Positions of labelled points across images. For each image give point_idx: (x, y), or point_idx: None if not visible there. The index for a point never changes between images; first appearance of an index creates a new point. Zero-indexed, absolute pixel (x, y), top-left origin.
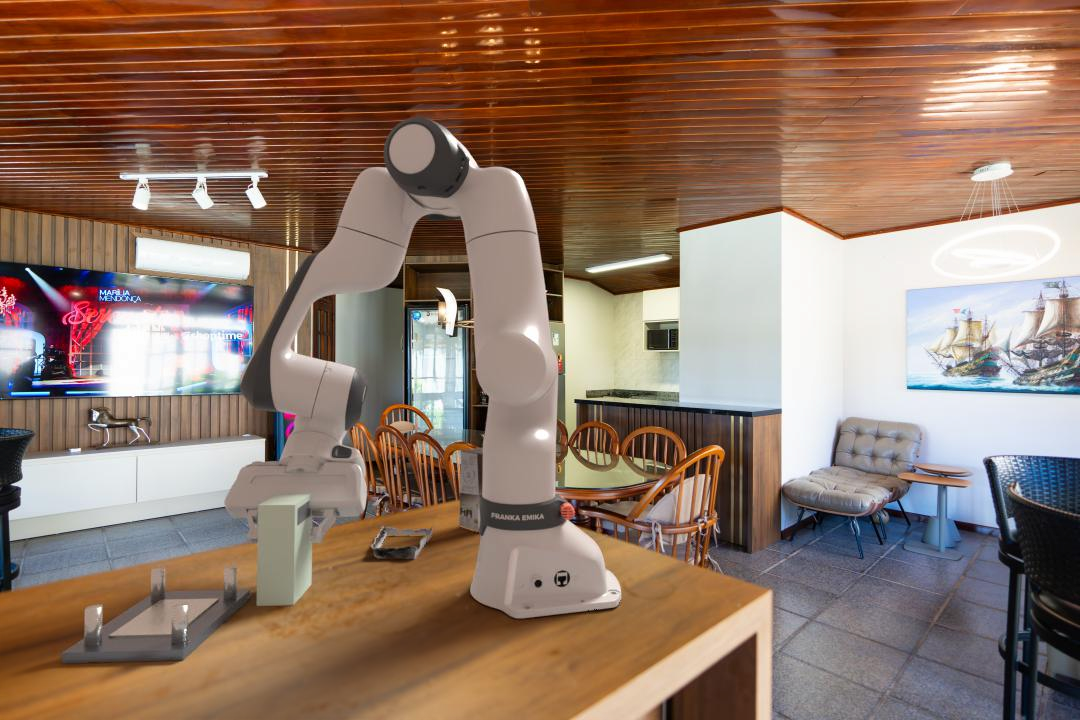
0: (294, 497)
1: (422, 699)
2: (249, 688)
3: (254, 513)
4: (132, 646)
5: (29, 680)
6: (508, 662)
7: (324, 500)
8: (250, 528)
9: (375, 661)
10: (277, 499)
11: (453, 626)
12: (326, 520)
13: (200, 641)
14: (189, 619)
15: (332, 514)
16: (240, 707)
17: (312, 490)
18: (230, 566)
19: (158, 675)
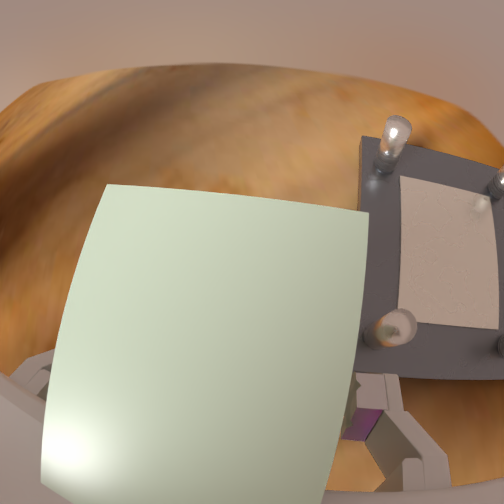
0: (118, 419)
1: (100, 80)
2: (247, 87)
3: (415, 473)
4: (439, 160)
5: (498, 153)
6: (28, 125)
7: (4, 403)
8: (400, 405)
9: (116, 121)
10: (253, 391)
11: (28, 187)
12: (54, 352)
13: (359, 179)
14: (408, 224)
15: (24, 362)
16: (247, 67)
17: (28, 500)
18: (405, 338)
19: (370, 122)
